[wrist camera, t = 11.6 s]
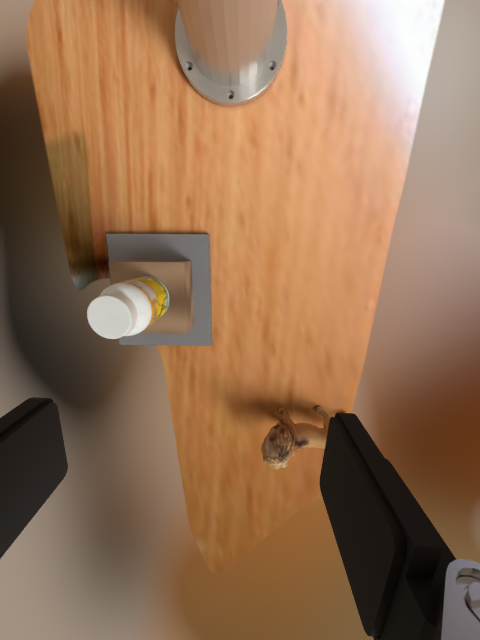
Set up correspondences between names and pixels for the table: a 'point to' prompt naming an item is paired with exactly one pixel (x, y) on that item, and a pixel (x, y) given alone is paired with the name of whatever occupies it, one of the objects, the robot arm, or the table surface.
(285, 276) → the table surface
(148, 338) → the base plate
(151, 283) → the supplement bottle
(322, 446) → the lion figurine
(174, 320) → the walnut block
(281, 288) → the table surface
